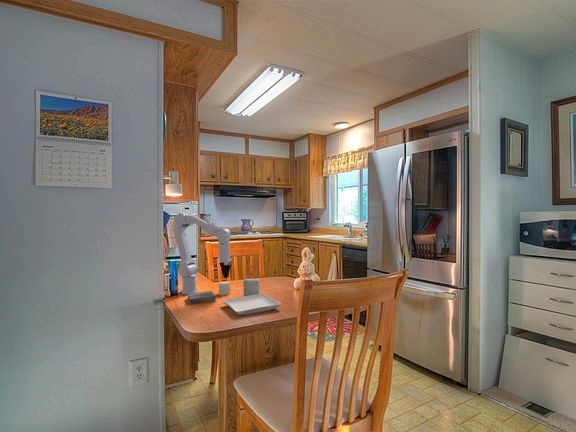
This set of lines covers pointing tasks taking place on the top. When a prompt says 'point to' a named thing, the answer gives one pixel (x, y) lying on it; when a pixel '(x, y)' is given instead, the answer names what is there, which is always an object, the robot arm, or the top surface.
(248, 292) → the medicine box
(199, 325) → the top surface
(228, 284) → the cream block
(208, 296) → the slate panel
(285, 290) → the top surface
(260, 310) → the salad plate
